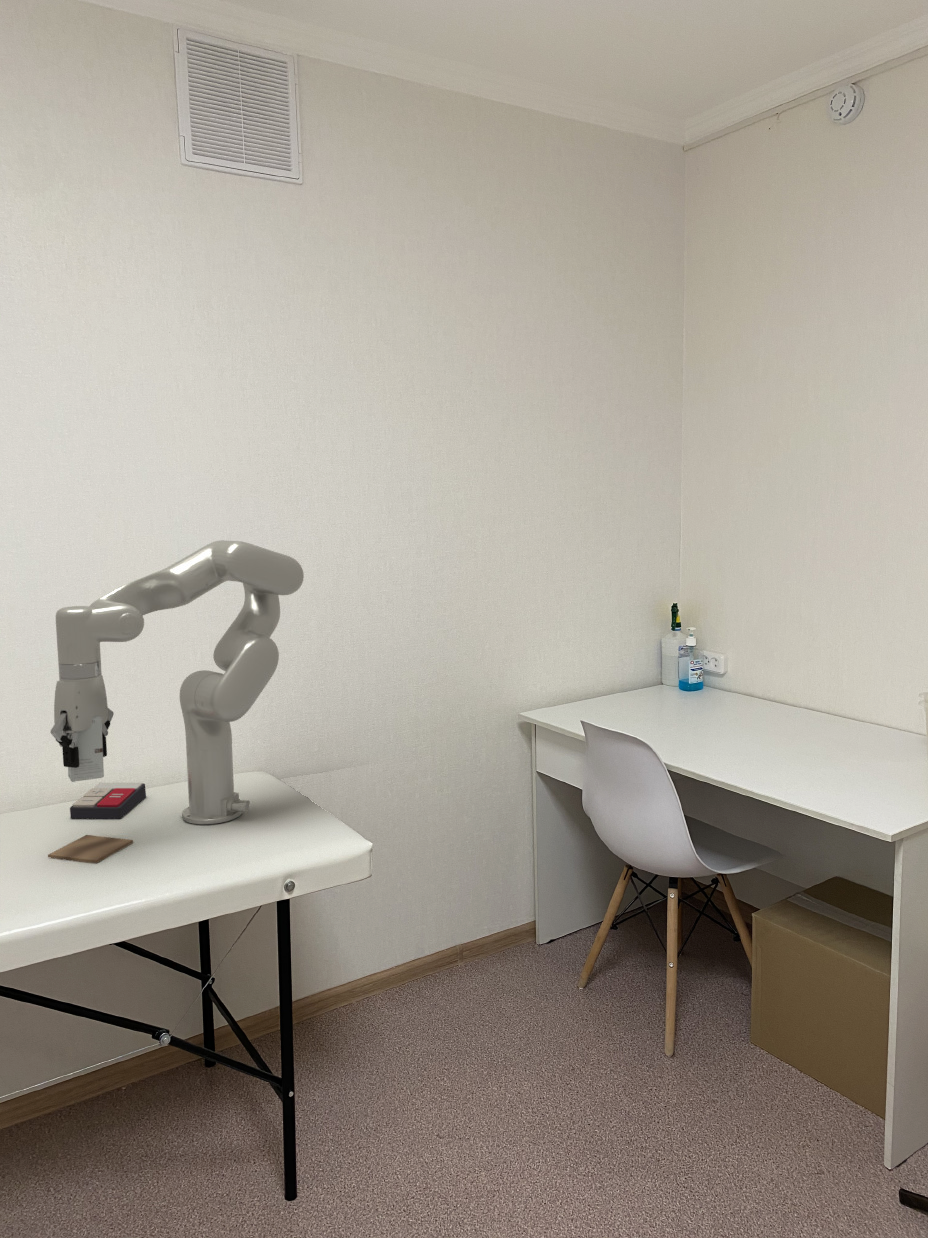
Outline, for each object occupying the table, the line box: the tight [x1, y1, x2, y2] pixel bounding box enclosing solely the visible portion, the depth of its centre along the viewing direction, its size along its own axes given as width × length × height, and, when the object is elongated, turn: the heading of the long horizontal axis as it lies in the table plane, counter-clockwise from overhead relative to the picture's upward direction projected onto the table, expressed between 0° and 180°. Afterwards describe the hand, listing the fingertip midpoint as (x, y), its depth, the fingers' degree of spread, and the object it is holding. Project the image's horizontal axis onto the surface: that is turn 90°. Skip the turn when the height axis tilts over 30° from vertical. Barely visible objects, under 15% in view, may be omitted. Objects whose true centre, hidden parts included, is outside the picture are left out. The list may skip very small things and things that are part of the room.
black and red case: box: [69, 782, 147, 820], centre depth 204 cm, size 11×4×15 cm
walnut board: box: [47, 834, 134, 864], centre depth 179 cm, size 11×11×1 cm
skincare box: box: [67, 716, 105, 783], centre depth 177 cm, size 6×4×12 cm
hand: (85, 760), depth 178 cm, fingers closed on skincare box, 7 cm apart
